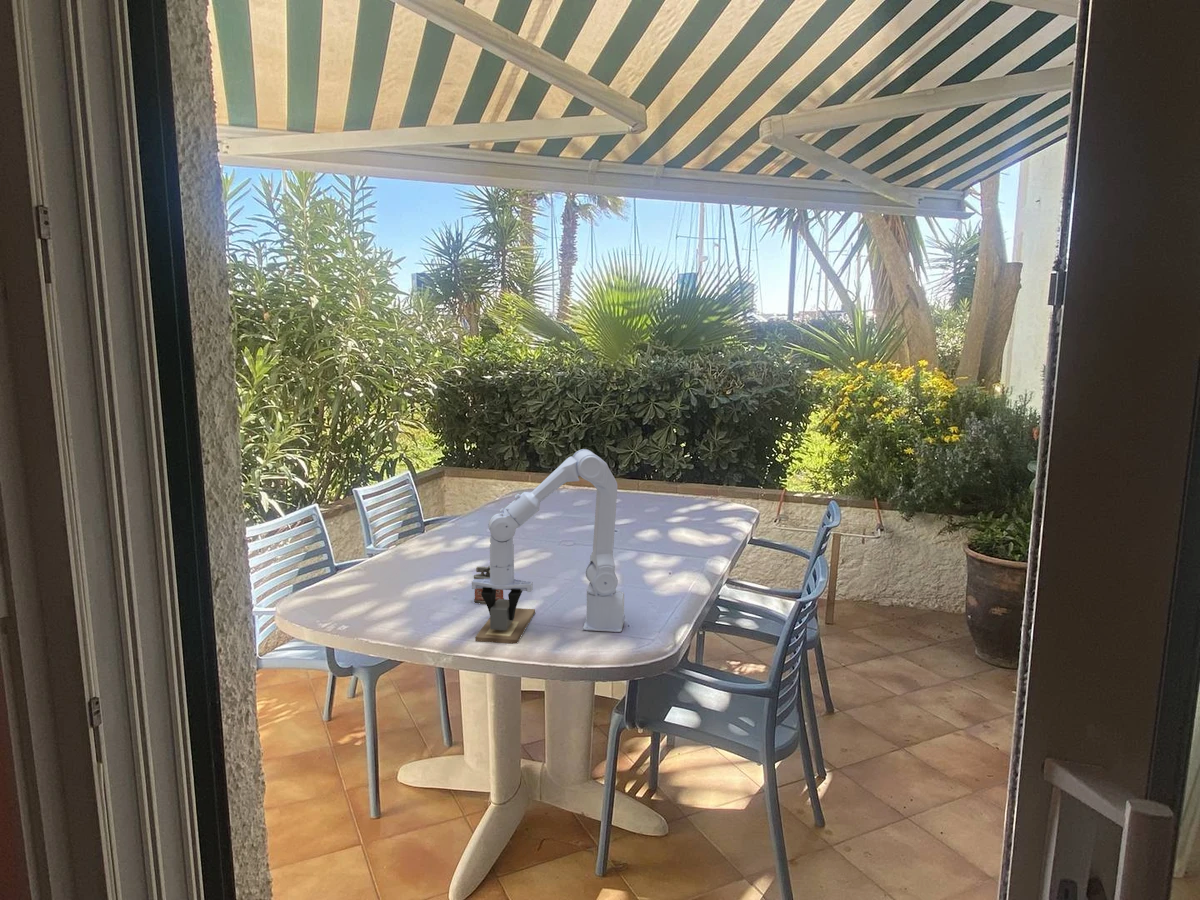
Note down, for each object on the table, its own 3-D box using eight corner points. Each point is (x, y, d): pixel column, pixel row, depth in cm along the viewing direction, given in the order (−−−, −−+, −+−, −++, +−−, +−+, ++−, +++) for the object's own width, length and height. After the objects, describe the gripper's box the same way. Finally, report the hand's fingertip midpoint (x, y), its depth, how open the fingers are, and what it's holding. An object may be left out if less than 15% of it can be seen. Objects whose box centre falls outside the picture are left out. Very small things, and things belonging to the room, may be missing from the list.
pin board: (535, 612, 189) (535, 601, 189) (516, 643, 169) (516, 630, 169) (497, 610, 190) (497, 599, 190) (475, 641, 171) (475, 628, 170)
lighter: (504, 600, 198) (504, 564, 197) (503, 604, 195) (503, 568, 194) (475, 600, 198) (474, 564, 197) (473, 604, 195) (472, 568, 193)
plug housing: (514, 619, 179) (513, 599, 178) (506, 630, 172) (506, 610, 171) (498, 618, 179) (497, 599, 178) (490, 629, 172) (490, 609, 172)
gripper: (535, 560, 176) (535, 613, 178) (477, 557, 178) (478, 610, 180) (528, 569, 170) (529, 624, 171) (468, 566, 171) (469, 621, 173)
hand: (502, 618), depth 175 cm, fingers closed on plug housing, 4 cm apart
